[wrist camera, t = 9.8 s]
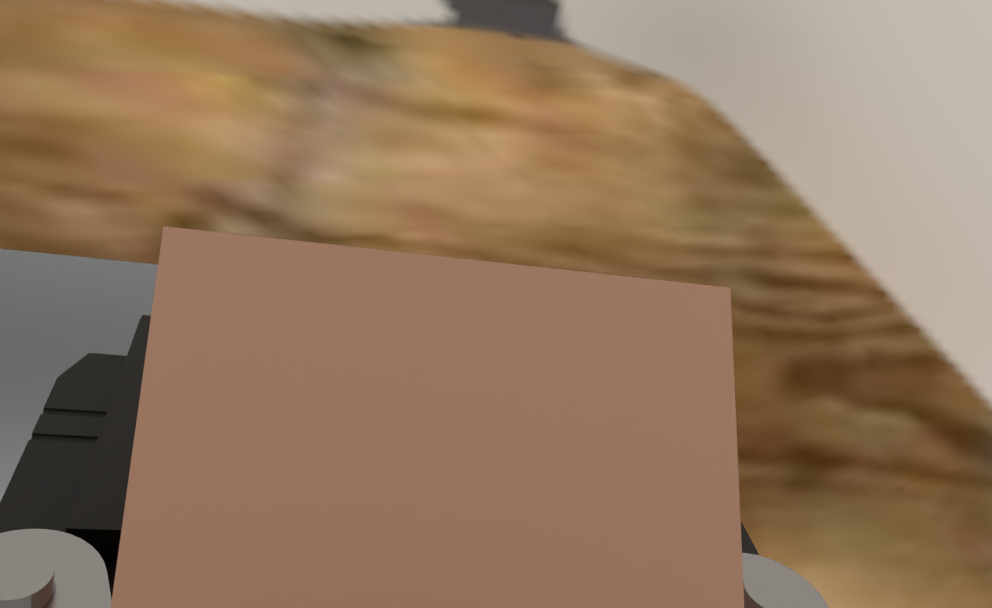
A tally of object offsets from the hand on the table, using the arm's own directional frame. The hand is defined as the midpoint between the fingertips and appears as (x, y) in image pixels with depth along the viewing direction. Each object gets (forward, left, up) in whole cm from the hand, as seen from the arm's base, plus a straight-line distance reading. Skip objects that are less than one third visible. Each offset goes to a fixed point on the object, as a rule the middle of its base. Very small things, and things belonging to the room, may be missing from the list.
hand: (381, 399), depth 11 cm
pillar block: (0, -2, -3) cm, 4 cm away
